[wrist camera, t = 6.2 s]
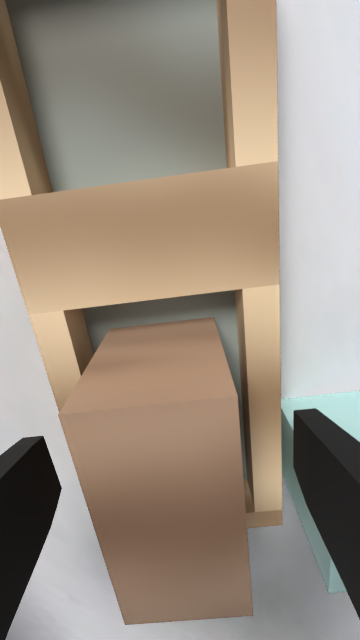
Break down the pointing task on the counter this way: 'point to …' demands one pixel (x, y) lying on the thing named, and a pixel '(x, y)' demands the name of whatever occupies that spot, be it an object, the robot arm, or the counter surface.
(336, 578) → the block
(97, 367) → the tan cardboard box
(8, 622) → the robot arm
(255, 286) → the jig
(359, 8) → the counter surface
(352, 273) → the counter surface
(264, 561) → the counter surface
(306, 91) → the counter surface
